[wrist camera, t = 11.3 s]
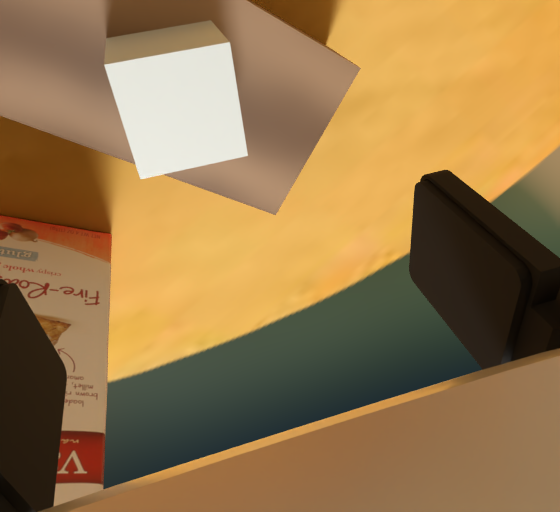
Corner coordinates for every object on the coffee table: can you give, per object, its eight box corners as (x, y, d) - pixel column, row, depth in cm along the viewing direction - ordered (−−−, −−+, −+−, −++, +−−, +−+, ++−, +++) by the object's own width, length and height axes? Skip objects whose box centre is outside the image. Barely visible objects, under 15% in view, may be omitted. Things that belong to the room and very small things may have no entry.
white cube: (210, 20, 23) (229, 42, 19) (228, 119, 26) (248, 155, 22) (106, 38, 22) (104, 64, 19) (136, 138, 25) (140, 179, 22)
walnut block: (22, -136, 23) (-3, -148, 18) (324, 44, 31) (360, 68, 27) (-24, 63, 27) (-54, 96, 22) (254, 174, 35) (275, 214, 31)
